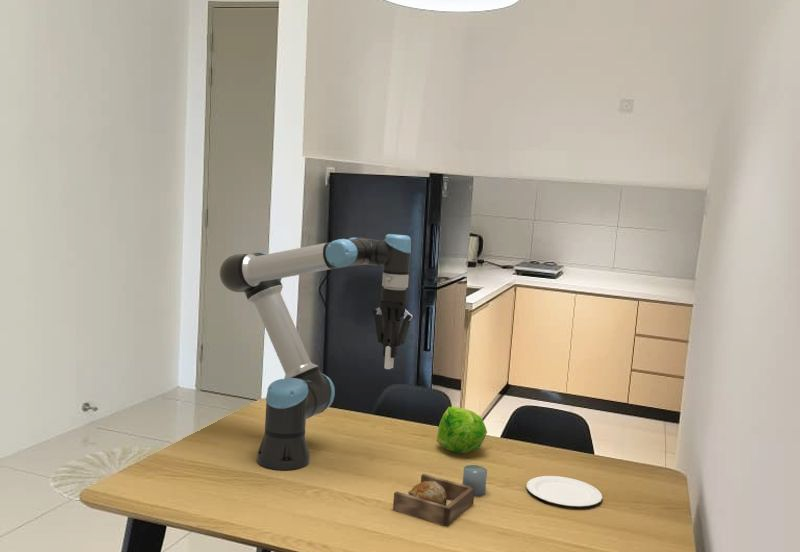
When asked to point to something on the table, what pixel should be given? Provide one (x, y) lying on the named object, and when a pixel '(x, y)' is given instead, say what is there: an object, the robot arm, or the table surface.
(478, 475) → the grey-blue cylinder
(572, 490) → the plate
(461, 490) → the corral
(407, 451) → the table surface
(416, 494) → the bread roll
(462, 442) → the lettuce
